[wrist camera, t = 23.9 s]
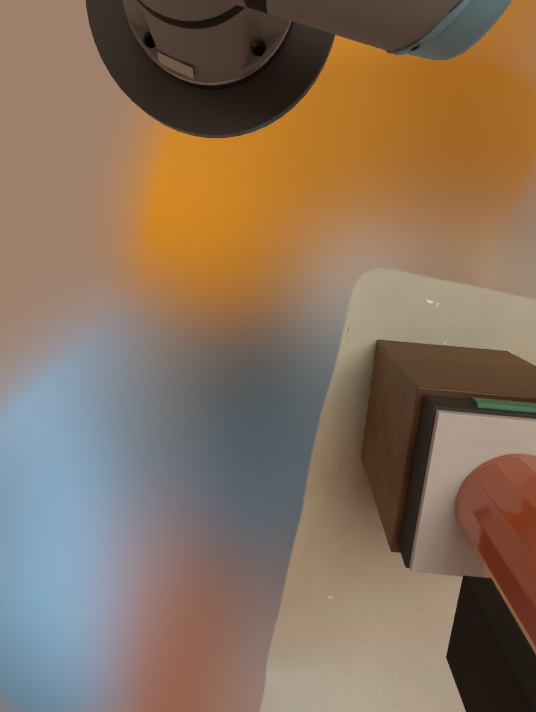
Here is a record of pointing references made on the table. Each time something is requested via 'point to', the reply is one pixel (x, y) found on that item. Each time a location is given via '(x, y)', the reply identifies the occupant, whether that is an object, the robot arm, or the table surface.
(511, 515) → the cup
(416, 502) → the scale
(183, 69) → the robot arm
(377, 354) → the stand
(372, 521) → the table surface
